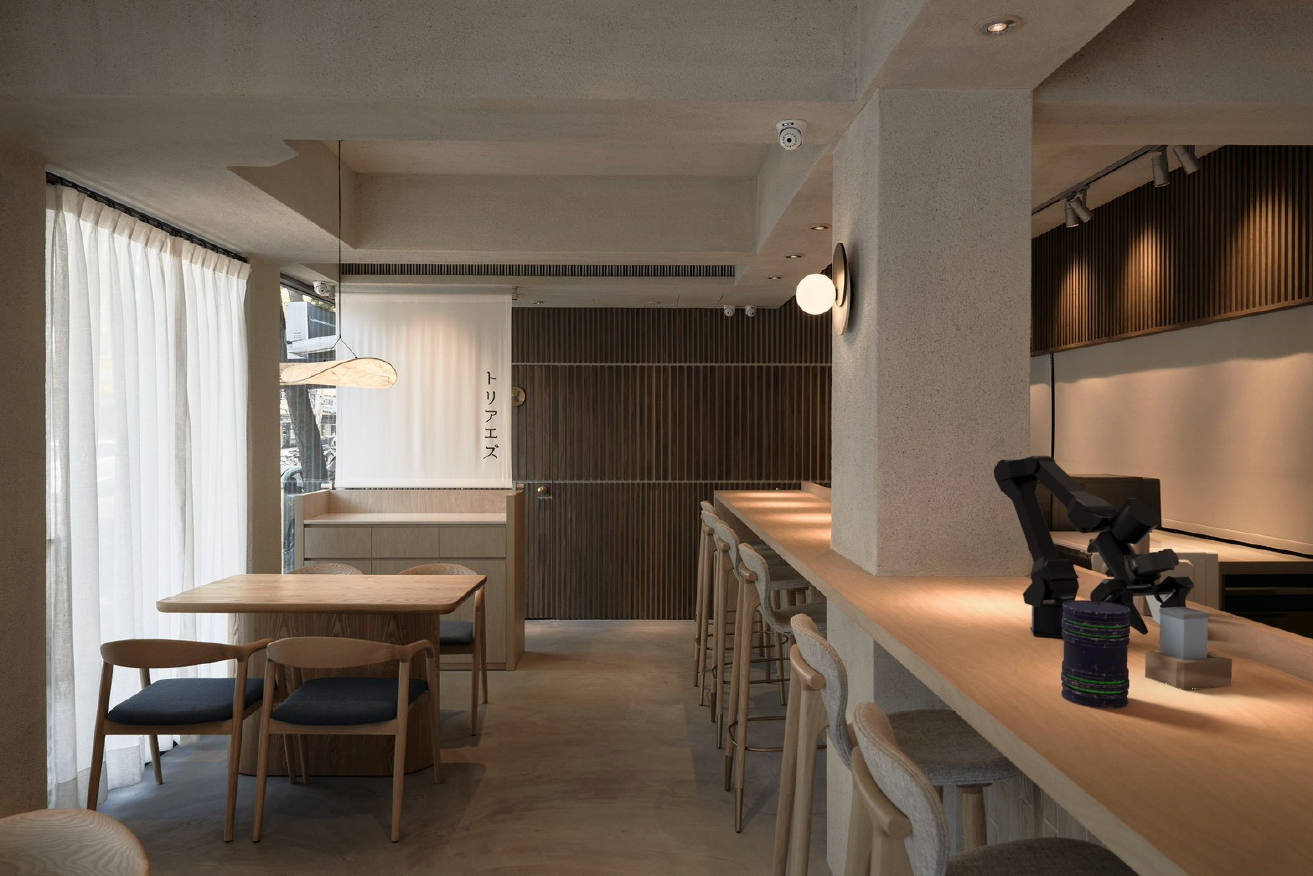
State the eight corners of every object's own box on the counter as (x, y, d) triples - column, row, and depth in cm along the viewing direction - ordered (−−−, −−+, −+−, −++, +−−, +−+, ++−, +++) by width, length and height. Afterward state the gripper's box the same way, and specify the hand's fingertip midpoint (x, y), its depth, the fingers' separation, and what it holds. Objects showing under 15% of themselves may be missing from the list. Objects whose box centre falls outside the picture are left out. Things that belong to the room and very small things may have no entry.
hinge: (1203, 638, 182) (1186, 592, 183) (1179, 645, 183) (1161, 598, 184) (1178, 621, 198) (1162, 578, 199) (1156, 627, 200) (1140, 584, 200)
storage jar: (1126, 713, 135) (1128, 615, 135) (1056, 702, 140) (1057, 608, 140) (1131, 696, 143) (1132, 604, 143) (1065, 686, 149) (1066, 597, 148)
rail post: (1158, 676, 155) (1159, 608, 154) (1182, 674, 156) (1183, 606, 156) (1182, 685, 150) (1184, 614, 149) (1207, 683, 151) (1208, 613, 151)
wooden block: (1142, 615, 204) (1144, 537, 204) (1129, 606, 214) (1130, 532, 214) (1160, 616, 203) (1161, 538, 203) (1145, 607, 213) (1146, 532, 213)
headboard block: (1145, 676, 154) (1145, 651, 154) (1191, 672, 157) (1191, 647, 157) (1183, 690, 147) (1184, 663, 147) (1231, 685, 149) (1231, 659, 149)
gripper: (1103, 534, 158) (1151, 610, 148) (1187, 531, 163) (1239, 604, 153) (1070, 570, 166) (1114, 644, 156) (1151, 566, 171) (1198, 638, 161)
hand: (1167, 632), depth 156 cm, fingers open, 9 cm apart
